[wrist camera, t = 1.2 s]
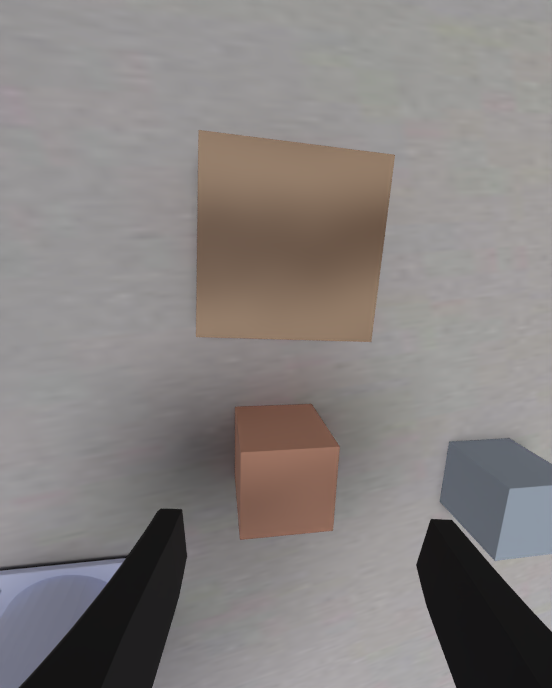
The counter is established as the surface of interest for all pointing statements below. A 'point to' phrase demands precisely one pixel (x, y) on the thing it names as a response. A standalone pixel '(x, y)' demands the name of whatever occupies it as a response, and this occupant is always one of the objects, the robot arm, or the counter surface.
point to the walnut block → (288, 238)
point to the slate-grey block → (500, 496)
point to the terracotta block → (284, 471)
